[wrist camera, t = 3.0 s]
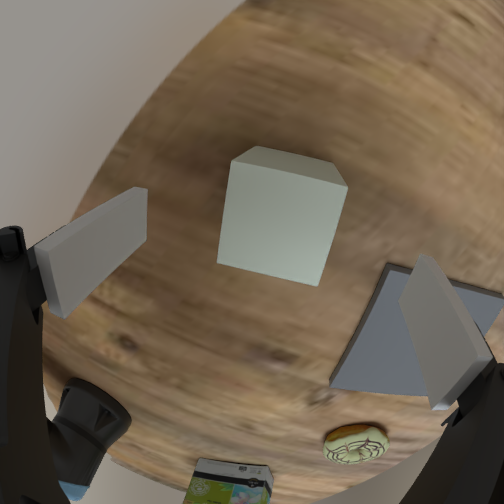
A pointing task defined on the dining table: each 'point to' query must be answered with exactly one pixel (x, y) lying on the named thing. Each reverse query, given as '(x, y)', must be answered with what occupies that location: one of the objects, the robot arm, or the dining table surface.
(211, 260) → the dining table surface
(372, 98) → the dining table surface
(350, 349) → the slate plate
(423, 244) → the dining table surface
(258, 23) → the dining table surface
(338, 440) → the decorated donut
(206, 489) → the tea box
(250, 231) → the sage block
